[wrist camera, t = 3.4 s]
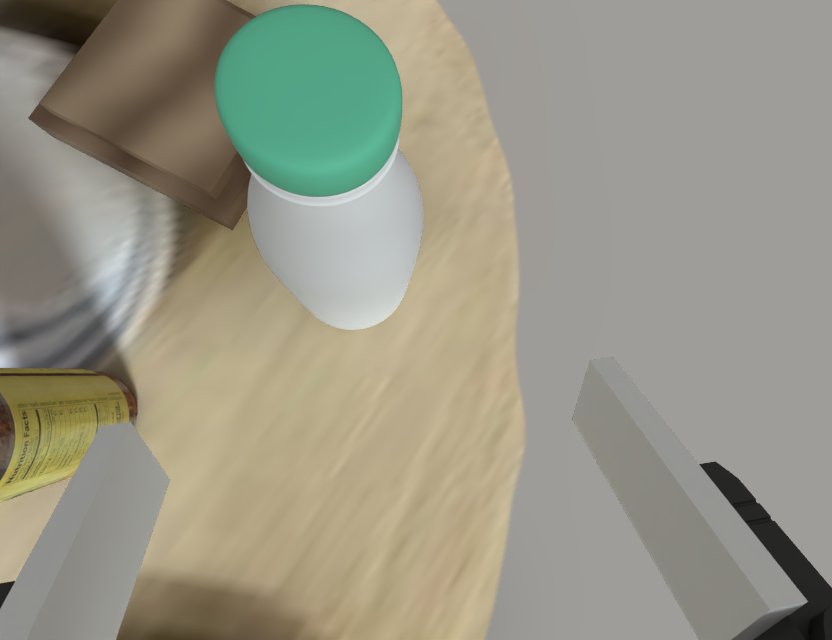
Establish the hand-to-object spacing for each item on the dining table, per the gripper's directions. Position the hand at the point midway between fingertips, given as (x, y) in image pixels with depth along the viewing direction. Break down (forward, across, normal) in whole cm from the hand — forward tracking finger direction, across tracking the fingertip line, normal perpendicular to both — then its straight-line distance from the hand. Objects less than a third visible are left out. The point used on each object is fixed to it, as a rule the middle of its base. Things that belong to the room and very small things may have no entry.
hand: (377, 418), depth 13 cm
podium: (+27, -10, +4) cm, 30 cm away
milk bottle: (+18, -1, -6) cm, 19 cm away
